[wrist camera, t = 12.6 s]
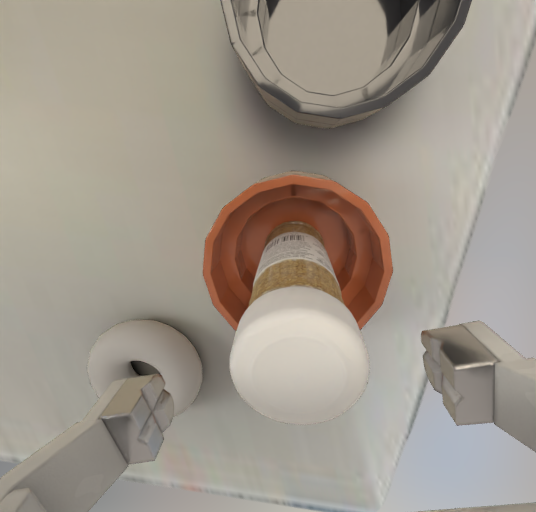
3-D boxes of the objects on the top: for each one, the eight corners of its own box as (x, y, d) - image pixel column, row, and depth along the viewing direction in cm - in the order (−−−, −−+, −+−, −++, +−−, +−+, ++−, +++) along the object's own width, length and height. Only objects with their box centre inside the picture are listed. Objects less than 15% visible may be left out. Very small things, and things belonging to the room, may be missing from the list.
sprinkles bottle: (266, 276, 23) (232, 429, 10) (262, 219, 21) (218, 313, 8) (325, 275, 22) (369, 433, 9) (325, 217, 21) (379, 312, 8)
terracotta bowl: (206, 191, 21) (178, 202, 16) (356, 154, 20) (379, 152, 14) (245, 318, 25) (232, 362, 19) (376, 295, 23) (400, 336, 18)
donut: (213, 323, 25) (101, 301, 25) (202, 348, 22) (73, 323, 22) (201, 408, 28) (102, 389, 28) (190, 440, 25) (79, 419, 25)
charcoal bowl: (218, -50, 17) (185, -145, 11) (416, -127, 15) (482, -278, 10) (264, 146, 20) (254, 142, 15) (431, 101, 18) (486, 79, 13)
